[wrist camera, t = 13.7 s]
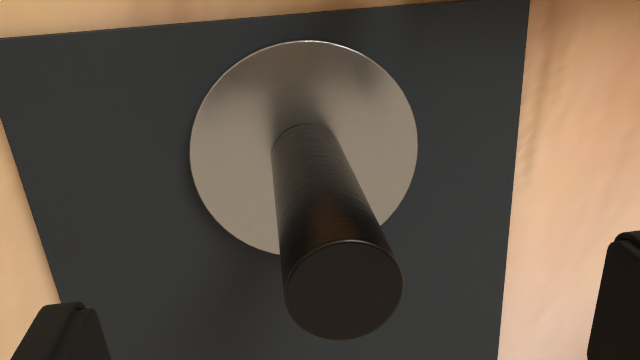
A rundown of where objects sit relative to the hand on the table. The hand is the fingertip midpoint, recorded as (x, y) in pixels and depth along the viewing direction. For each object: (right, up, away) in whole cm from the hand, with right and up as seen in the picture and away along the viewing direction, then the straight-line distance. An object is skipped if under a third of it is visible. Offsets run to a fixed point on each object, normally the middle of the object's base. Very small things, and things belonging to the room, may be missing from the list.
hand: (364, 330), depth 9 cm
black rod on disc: (-1, +4, +11) cm, 12 cm away
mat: (-2, 0, +13) cm, 14 cm away
